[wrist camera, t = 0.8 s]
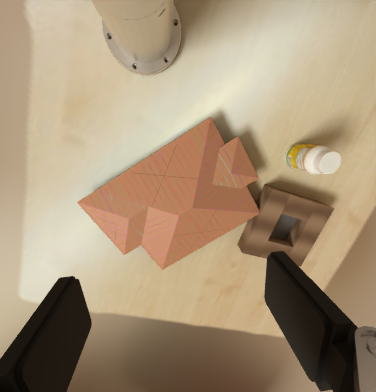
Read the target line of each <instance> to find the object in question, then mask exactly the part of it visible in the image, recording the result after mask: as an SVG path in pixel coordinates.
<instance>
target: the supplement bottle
mask: <svg viewBox="0 0 376 392" xmlns="http://www.w3.org/2000/svg"><path fill="white" fill-rule="evenodd" d="M285 161H286V163H287V165H288V166H290V167H292V168H295V169H298V170H301V171H304V172H307V173H310V174H321V173H323V174H331V173H334V172H335V171H336V170H337V169H338V168H339V166H340V164H341V156H340V154H339V153H338V152H335V151H331V150H330V149H329V148H328V147H326V146H321V145H313V144H304V143H297V144H294V145H292V146H291V147H289V149H288V150H287V152H286V154H285Z"/></svg>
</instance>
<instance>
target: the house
mask: <svg viewBox="0 0 376 392" xmlns="http://www.w3.org/2000/svg"><path fill="white" fill-rule="evenodd" d="M257 179H259V178H258V176H257V174H256V171H255V169H254V167H253V165H252V163H251V161H250V159H249V157H248V155H247V153H246V151H245V149H244V147H243V145H242V142H241V140H240V138H239V136H238V137H236V138H234V139H233V140H231V141H229V142H228V143H226V144H225V143H224V141H223V139H222V138H221V136H220V134H219V132H218V130H217V128H216V126H215V124H214V122H213V120H212V118H211V117H210V118H208V119H207V120H205V121H204V122H202V123H200V124H199V125H197V126H196V127H194V128H193V129H191V130H189V131H188V132H186V133H185V134H183V135H182V136H180V137H179V138H177V139H175V140H174V141H172V142H171V143H169V144H168V145H166V146H164V147H163V148H161V149H160V150H158V151H157V152H155V153H154V154H152V155H150V156H149V157H147V158H146V159H144V160H143V161H141V162H139V163H138V164H136V165H135V166H133V167H132V168H130V169H128V170H127V171H125V172H124V173H122V174H121V175H119V176H118V177H116V178H114V179H113V180H111V181H110V182H108V183H107V184H105V185H103V186H102V187H100V188H99V189H97V190H96V191H94V192H93V193H91V194H89V195H88V196H86V197H85V198H83V199H82V200H80V201H78V202H77V203H78V204H79V205H80V206H81V207H82V208H83V209H84V211H85V212H86V213H87V214H88V215H89V216H90V217H91V218H92V220H93V221H94V222H95V223H96V224H97V225H98V226H99V227H100V229H101V230H102V231H103V232H104V233H105V234H106V235H107V236H108V237H109V239H110V240H111V241H112V242H113V243H114V244H115V245H116V246H117V248H118V249H119V250H120V251H121V252H122V253H123V254H124V255H125V254H127V253H129V252H130V251H132V250H134V249H135V248H137V247H139V246H140V245H142V246H143V248H144V249H145V250H146V251H147V252H148V254H149V255H150V256H151V257H152V259H153V260H154V261H155V262H156V263H157V265H158V266H159V267H160V268H161V269H162V270H163V269H165V268H166V267H168V266H170V265H171V264H173V263H175V262H177V261H178V260H180V259H182V258H184V257H185V256H187V255H189V254H191V253H192V252H194V251H196V250H198V249H199V248H201V247H203V246H204V245H206V244H208V243H210V242H211V241H213V240H215V239H217V238H218V237H220V236H222V235H224V234H225V233H227V232H229V231H231V230H232V229H234V228H236V227H238V226H239V225H241V224H243V223H244V222H246V221H248V220H250V219H251V218H253V217H255V216H257V215H258V214H259V213H260V211H259V209H258V207H257V205H256V203H255V201H254V200H253V198H252V196H251V194H250V192H249V190H248V188H247V185H248V184H250V183H252V182H254V181H255V180H257Z"/></svg>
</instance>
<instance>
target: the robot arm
mask: <svg viewBox="0 0 376 392" xmlns="http://www.w3.org/2000/svg"><path fill="white" fill-rule="evenodd" d="M91 1H92V2H93V4H94V6H95V8H96V9H97V11H98V13H99V14H100V16H101V18H102V25H103V33H104V37H105V40H106V43H107V45H108V48H109V49H110V51H111V53H112V54H113V56H114V57H115V58H116V60H117V61H118V62H119V63H120V64H121V65H122V66H124V67H125V68H126V69H128V70H129V71H132V72H134V73H136V74H141V75H152V74H157V73H159V72H161V71H163V70H164V69H166V68H167V67H168V66H169V65H170V64H171V63H172V62H173V60H174V59H175V57H176V55H177V53H178V50H179V47H180V42H181V22H180V18H179V14H178V11H177V9H176V6H175V5H174V0H91ZM174 24H177V26H175V25H174ZM109 37H112V39H109ZM165 60H168V62H167V63H166V62H165ZM135 66H136V67H137V68H136V69H134V67H135ZM265 301H266V304H267V306H268V308H269V309H270V311H271V313H272V315H273V316H274V318H275V320H276V322H277V323H278V325H279V327H280V329H281V330H282V332H283V334H284V336H285V337H286V339H287V341H288V343H289V344H290V346H291V348H292V350H293V352H294V353H295V355H296V357H297V358H298V360H299V362H300V364H301V366H302V367H303V369H304V371H305V372H306V374H307V376H308V378H309V379H310V380H311V381H312V382H314V381H315V383H316V385H317V386H318V388H319V390H320V391H326V390H333V392H376V328H374V327H367V326H363V327H360V328H358V327H357V326H356V325H355V324H354V323H353V322H352V321H351V320H350V319H349V318H348V317H347V316H346V315H345V314H344V313H343V312H342V311H341V310H340V309H339V308H338V306H337V305H336V304H335V303H333V301H332V300H331V299H330V298H329V297H328V296H327V295H326V294H325V293H324V292H323V291H322V290H321V289H320V288H319V287H318V286H317V285H316V284H315V283H314V282H313V280H312V279H310V278H309V277H308V276H307V275H306V274H305V273H304V272H303V271H302V270H301V269H300V267H299V266H298V265H297V264H296V263H295V262H294V261H293V260H292V259H291V258H290V257H289V256H288V255H287V254H286V253H285V252H284V251H276V252H271V253H270V255H268V257H267V268H266V282H265ZM90 329H91V318H90V314H89V311H88V308H87V305H86V301H85V298H84V295H83V291H82V288H81V285H80V282H79V280H78V279H75V277H74V276H70V277H62V278H59V279H58V280H57V282H56V283H55V284H54V286H53V287H52V289H51V290H50V291H49V293H48V294H47V295H46V297H45V298H44V300H43V301H42V302H41V304H40V305H39V306H38V308H37V310H36V311H35V312H34V313H33V315H32V316H31V318H30V319H29V320H28V322H27V323H26V324H25V326H24V327H23V329H22V330H21V332H20V333H19V334H18V335H17V337H16V338H15V340H14V341H13V342H12V344H11V345H10V347H9V348H8V349H7V351H6V352H5V353H4V355H3V356H2V358H1V359H0V392H67V389H68V386H69V384H70V381H71V379H72V376H73V373H74V371H75V368H76V365H77V363H78V360H79V357H80V355H81V352H82V350H83V347H84V344H85V342H86V339H87V337H88V334H89V332H90Z"/></svg>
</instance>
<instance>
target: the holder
mask: <svg viewBox="0 0 376 392" xmlns="http://www.w3.org/2000/svg"><path fill="white" fill-rule="evenodd" d="M256 205H257V207H258V209H259V211H260V213H259V214H258V215H257V216H255V217H253V218H251V219H250V220H248V222H247V224H246V227H245V229H244V231H243V233H242V235H241V238H240V240H239V242H238V244H237V245H238V246H239V248H240V250H241V251H242V253H245V254H249V255H253V256H257V257H262V258H266V259H267V257H268V255H270V253H271V252H276V251H284V252H285V253H286V254H287V255H288V256H289V257H290V258H291V259H292V260H293V261H294V262H295V263H296V264H297V265H298V266H300V267H301V265H302V263H303V262H304V260H305V258H306V256H307V255H308V253H309V251H310V249H311V248H312V246H313V244H314V243H315V241H316V239H317V237H318V236H319V234H320V232H321V231H322V229H323V227H324V225H325V224H326V222H327V220H328V219H329V217H330V215H331V213H332V212H333V210H334V208H332V207H330V206H328V205H326V204H324V203H321V202H318V201H315V200H312V199H308V198H305V197H302V196H299V195H296V194H293V193H290V192H286V191H283V190H280V189H277V188H274V187H271V186H267V185H264V187H263V189H262V191H261V194H260V196H259V198H258V200H257V202H256Z"/></svg>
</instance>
